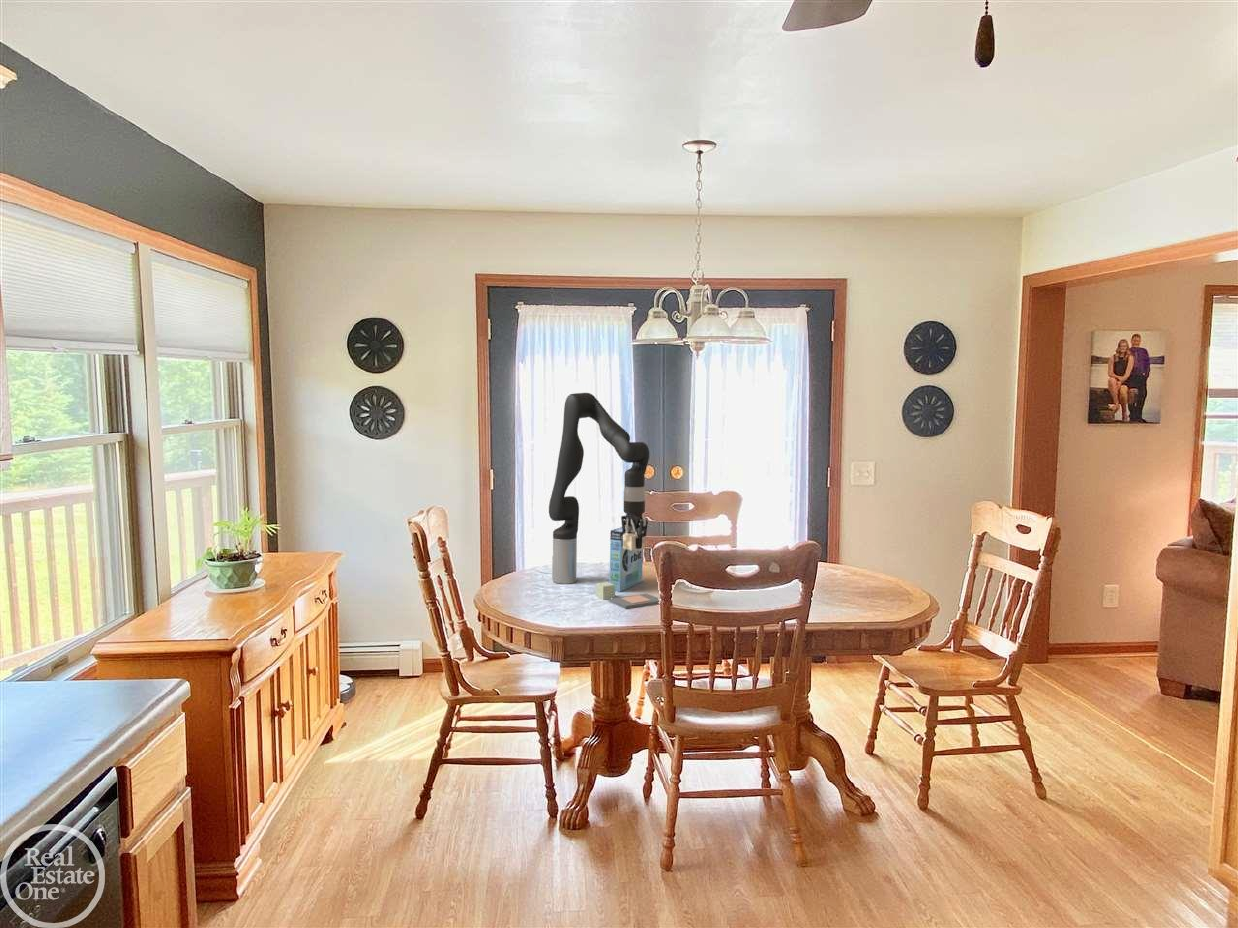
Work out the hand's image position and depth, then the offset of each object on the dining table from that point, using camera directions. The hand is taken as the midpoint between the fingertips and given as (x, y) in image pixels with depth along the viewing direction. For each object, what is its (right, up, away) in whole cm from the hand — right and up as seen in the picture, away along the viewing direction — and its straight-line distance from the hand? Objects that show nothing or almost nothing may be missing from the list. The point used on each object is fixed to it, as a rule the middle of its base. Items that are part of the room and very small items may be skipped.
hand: (634, 546), depth 284 cm
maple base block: (0, -1, 0) cm, 1 cm away
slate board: (+1, -20, +2) cm, 20 cm away
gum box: (-2, -18, +26) cm, 32 cm away
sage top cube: (-10, -19, +8) cm, 23 cm away
